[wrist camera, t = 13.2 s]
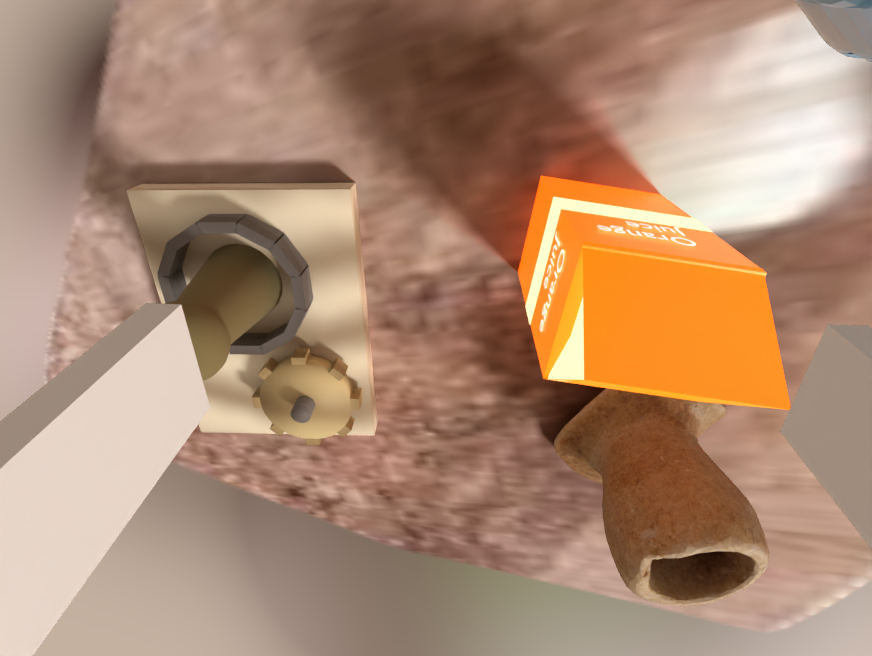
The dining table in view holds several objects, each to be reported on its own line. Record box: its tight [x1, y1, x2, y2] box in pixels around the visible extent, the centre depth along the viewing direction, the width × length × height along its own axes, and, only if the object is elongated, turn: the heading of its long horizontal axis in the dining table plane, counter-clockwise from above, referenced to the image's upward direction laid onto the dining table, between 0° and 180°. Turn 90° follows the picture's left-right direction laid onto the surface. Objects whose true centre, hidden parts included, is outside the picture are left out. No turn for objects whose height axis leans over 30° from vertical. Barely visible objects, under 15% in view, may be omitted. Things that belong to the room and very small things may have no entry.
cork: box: [165, 244, 282, 381], centre depth 34 cm, size 6×6×11 cm
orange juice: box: [518, 176, 791, 410], centre depth 29 cm, size 8×9×20 cm
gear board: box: [126, 183, 378, 445], centre depth 40 cm, size 22×16×6 cm
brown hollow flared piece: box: [554, 388, 769, 606], centre depth 39 cm, size 15×12×15 cm
